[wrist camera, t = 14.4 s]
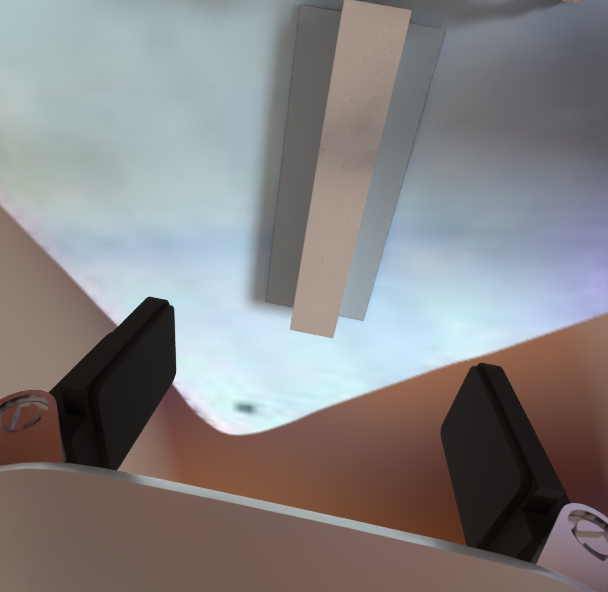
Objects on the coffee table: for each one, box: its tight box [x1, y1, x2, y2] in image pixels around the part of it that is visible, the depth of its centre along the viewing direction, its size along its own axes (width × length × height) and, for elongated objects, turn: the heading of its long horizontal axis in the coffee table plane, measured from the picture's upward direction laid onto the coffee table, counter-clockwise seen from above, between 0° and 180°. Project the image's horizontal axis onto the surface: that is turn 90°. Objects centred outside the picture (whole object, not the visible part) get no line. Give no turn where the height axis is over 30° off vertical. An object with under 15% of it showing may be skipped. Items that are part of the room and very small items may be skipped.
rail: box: [290, 0, 412, 338], centre depth 29 cm, size 4×24×4 cm, turn 171°
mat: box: [266, 5, 446, 321], centre depth 31 cm, size 10×24×1 cm, turn 172°
